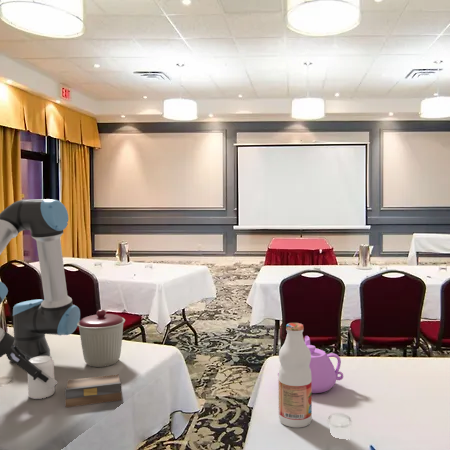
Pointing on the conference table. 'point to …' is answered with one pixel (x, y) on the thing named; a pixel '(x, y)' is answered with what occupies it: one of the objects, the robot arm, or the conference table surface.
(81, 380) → the shelf board
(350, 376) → the conference table surface
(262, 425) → the conference table surface
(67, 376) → the conference table surface
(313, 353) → the teapot
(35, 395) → the beverage can
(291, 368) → the fruit juice
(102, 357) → the canister
